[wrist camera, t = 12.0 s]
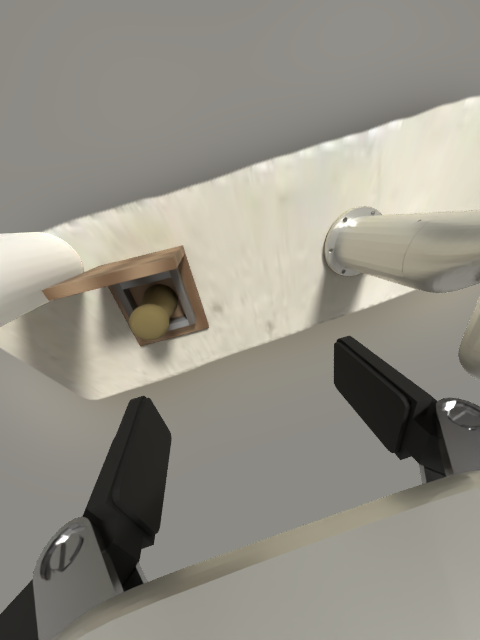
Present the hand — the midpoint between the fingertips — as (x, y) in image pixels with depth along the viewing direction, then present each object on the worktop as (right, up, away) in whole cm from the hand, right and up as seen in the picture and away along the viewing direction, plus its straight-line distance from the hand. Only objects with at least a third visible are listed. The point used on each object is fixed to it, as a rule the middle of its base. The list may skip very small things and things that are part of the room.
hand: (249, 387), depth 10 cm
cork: (-15, +7, +27) cm, 32 cm away
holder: (-15, +7, +27) cm, 32 cm away
